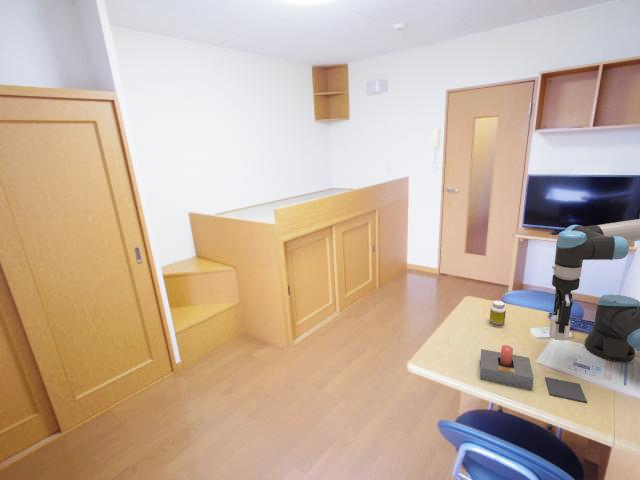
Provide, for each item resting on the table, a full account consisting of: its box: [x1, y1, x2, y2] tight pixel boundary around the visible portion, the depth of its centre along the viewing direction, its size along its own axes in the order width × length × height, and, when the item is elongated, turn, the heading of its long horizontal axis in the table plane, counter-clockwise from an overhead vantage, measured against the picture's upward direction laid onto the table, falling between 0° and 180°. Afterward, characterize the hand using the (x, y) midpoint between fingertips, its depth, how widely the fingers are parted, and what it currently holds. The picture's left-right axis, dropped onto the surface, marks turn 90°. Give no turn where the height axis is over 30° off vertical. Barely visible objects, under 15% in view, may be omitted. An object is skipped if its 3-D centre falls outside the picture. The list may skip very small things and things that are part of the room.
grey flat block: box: [479, 348, 535, 391], centre depth 122 cm, size 16×12×5 cm
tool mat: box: [544, 376, 588, 404], centre depth 113 cm, size 10×9×1 cm
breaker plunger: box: [500, 345, 514, 367], centre depth 120 cm, size 4×4×6 cm
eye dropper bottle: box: [548, 309, 571, 341], centre depth 118 cm, size 4×6×12 cm
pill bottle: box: [488, 300, 507, 328], centre depth 154 cm, size 6×6×11 cm
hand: (558, 336), depth 120 cm, fingers closed on eye dropper bottle, 3 cm apart
